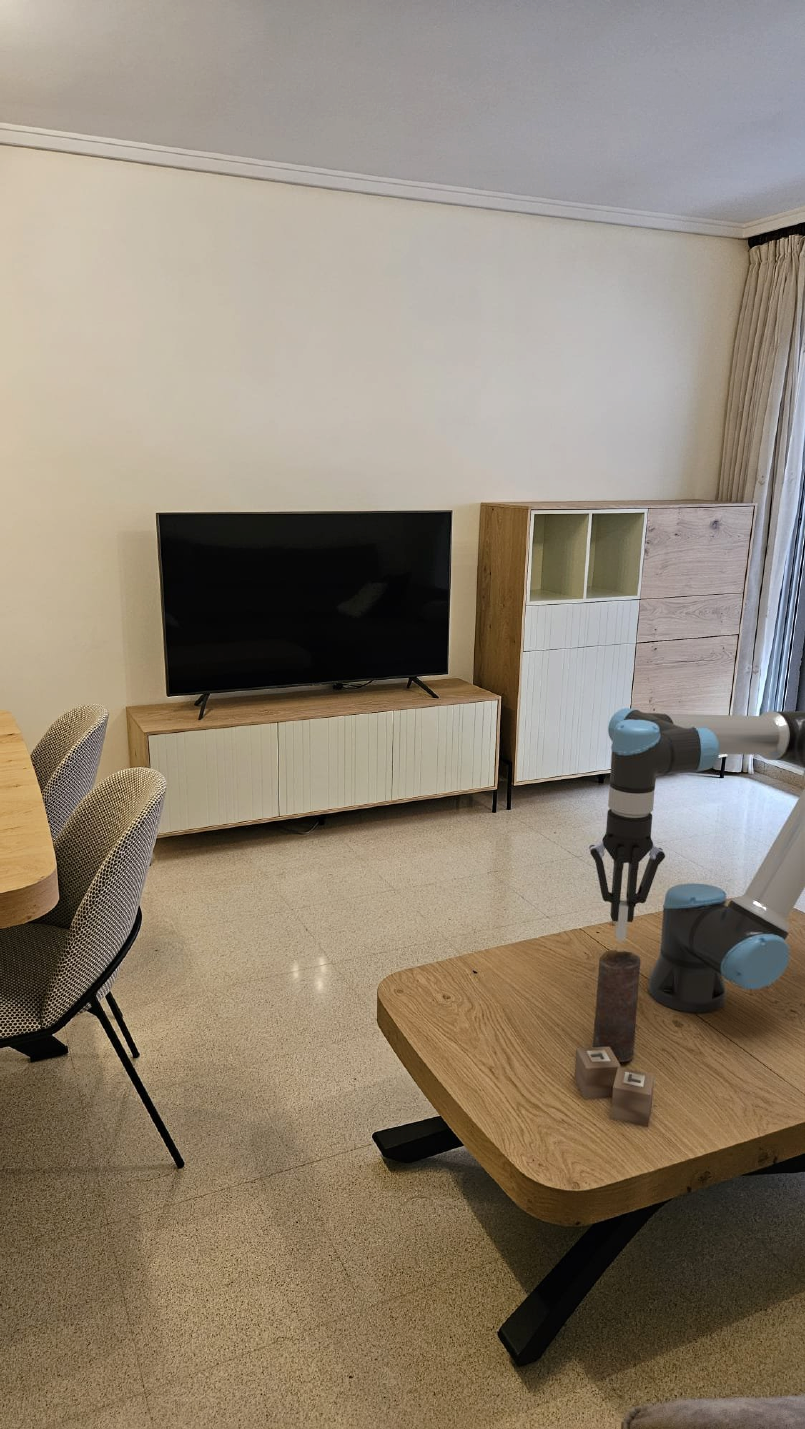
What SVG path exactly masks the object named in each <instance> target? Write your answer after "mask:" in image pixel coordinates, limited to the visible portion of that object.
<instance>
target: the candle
mask: <svg viewBox="0 0 805 1429" xmlns="http://www.w3.org/2000/svg"><path fill="white" fill-rule="evenodd" d="M598 961H599V963H598V973H597V974H598V975H597V986H596V987H597V988H596V1002H595V1012H594V1023H593V1024H594V1025H593V1037H592V1048H593V1047H610V1048H611V1050H612V1052H613V1053H614V1055H615V1057H616V1059H617V1060H618V1062H619V1063H620V1062H621V1063H624V1062H628V1061H631V1060H632V1059H633V1057H634V1055H635V1054H634V1052H635V1050H634V1049H635V1042H636V1040H635V1038H636V1028H637V1027H636V1026H637V1009H638V996H639V986H640V985H639V984H640V981H639V980H640V972H641V958H640V956H639V955H638V954H636V953H634V952H630V951H627V950H626V951H618V950H616V949H614V950H612V949H610V950H608V951H604V952H603V953H602V954H601V956H600V957H599V960H598Z"/></svg>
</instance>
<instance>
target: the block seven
mask: <svg viewBox="0 0 805 1429" xmlns="http://www.w3.org/2000/svg"><path fill="white" fill-rule="evenodd" d="M654 1084H655V1074H654V1073H650V1072H645V1071H640V1070H635V1069H634V1070H633V1069H631V1068H624V1067H622V1066H621V1067H618V1069H617V1073H616V1077H615V1082H614V1086H613V1096H612V1098H611V1099H612V1101H611V1112H610V1119H611V1120H615V1121H619V1122H622V1123H623V1122H624V1123H627V1124H633V1125H636V1126H641V1127H646V1128H649V1126H650V1125H649V1123H650V1119H651V1114H652V1113H651V1112H652V1106H653V1099H654V1098H653V1096H654Z"/></svg>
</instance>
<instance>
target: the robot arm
mask: <svg viewBox="0 0 805 1429" xmlns="http://www.w3.org/2000/svg"><path fill="white" fill-rule="evenodd" d="M607 728H608V729H607V732H608V733H607V734H608V737H609V740H610V741H611V742H612V743H611V746H610V747H611V755H610V756H611V757H610V758H611V759H610V773H609V775H610V777H609V792H608V801H607V802H608V803H607V807H608V808H609V809H608V810H607V815H606V828H605V830H606V831H605V833H604V836H603V837H602V841H601V842H599V843H597V844H596V845H594V844H590V846H589V848H588V849H589V852H590V855H591V857H592V858H593V860H594V863H595V868H596V873H597V878H598V882H599V883H598V884H599V889H600V893H601V897H602V900H603V901H604V902H608V903H610V912H609V913H610V914H609V915H610V916H609V917H610V919H611V922H615V927H614V928H615V929H614V935H615V939H616V941H617V942H626V941H627V930H628V929H627V928H628V923H632V922H633V921H634V915H635V908H636V906H637V904H645V902H647V899H648V896H649V893H650V890H651V888H652V885H653V883H654V882H653V881H654V880H655V876H656V873H657V870H658V868H659V866H660V864H661V863H662V862H663V860H664V859H665V858H666V855H665V851H664V850H663V848H662V847H657V846H655V845H654V842H653V840H652V828H653V827H652V824H653V814H652V812H653V811H654V801H655V790H656V780H657V776H666V775H677V774H688V773H698V772H700V771H701V772H702V771H706V770H710V769H712V768H713V767H714V766H716V764H717V762H718V760H719V759H720V758H719V757H720V755H743V756H745V755H749V756H750V755H752V756H753V755H757V756H758V755H759V756H760V757H761V758H763V759H764V760H768V761H780V762H786V763H788V764H791V765H794V766H798V767H800V768H802V769H805V710H804V711H803V710H802V711H797V710H794V711H792V710H790V711H785V710H784V711H782V710H780V711H777V710H775V711H774V710H770V711H764V712H763V713H762V714H760V715H730V714H729V715H727V714H695V713H694V714H693V713H692V714H691V713H689V714H688V713H659V712H657V713H656V712H643V711H640V710H639V709H636V708H635V709H633V708H628V707H626V708H625V707H624V708H621V709H619V710H617V711H616V712H614V713H613V715H612V716H611V719H610V720H609V723H608V727H607ZM802 776H803V779H804V780H805V770H804V771H803V774H802ZM770 846H771V847H770V848H769V850H768V852H767V853H766V856H765V857H764V859H763V860H762V862H761V864H760V866H759V868H758V869H757V871H756V873H755V874H754V876H753V878H752V879H751V882H750V883H749V885H748V887H747V888H746V890H745V892H744V894H742V895H741V896H736V897H732V898H731V900H730V901H729V903H728V904H727V900H728V898H727V893H726V891H725V890H723V889H722V888H720V887H717V886H714V885H711V884H707V883H706V884H705V883H694V882H693V883H682V884H678V885H677V884H676V885H674V886H671V887H670V888H669V889H667V891H666V893H665V896H664V903H663V905H662V908H663V909H662V922H661V923H662V924H661V936H660V949H659V950H660V951H659V952H660V953H659V955H658V958H657V960H656V962H655V964H654V966H653V969H652V971H651V972H650V975H649V979H648V987H647V988H648V989H647V990H648V993H649V994H650V995H651V997H652V998H653V999H654V1000H656V1001H657V1002H658V1003H659V1004H661V1005H663V1006H665V1007H668V1008H670V1009H673V1010H677V1011H681V1012H686V1013H697V1014H698V1013H710V1012H714V1011H716V1010H718V1009H720V1008H721V1007H723V1005H724V1004H725V1002H726V996H727V995H726V994H727V993H726V991H727V989H726V984H725V981H724V979H725V980H726V981H729V982H731V983H733V984H735V985H737V986H738V987H740V988H742V989H745V990H750V991H753V990H755V991H756V990H760V989H762V988H764V987H768V986H770V985H772V984H773V983H774V982H776V981H777V980H778V979H779V978H780V977H781V976H782V974H784V972H785V970H786V969H787V967H788V964H789V963H790V962H789V961H790V955H789V954H790V947H789V945H788V944H787V941H786V939H787V937H788V936H789V933H790V932H791V931H790V928H789V924H788V918H789V916H790V914H791V913H792V911H793V909H794V907H795V906H796V904H797V902H798V900H799V898H800V897H801V895H802V893H803V892H804V890H805V788H804V789H803V790H802V792H801V794H800V795H799V797H798V799H797V801H796V802H795V804H794V806H793V808H792V810H791V811H790V813H789V815H788V817H787V818H786V820H785V822H784V824H783V825H782V827H781V829H780V831H779V833H778V834H777V835H776V838H775V840H774V841H773V843H772V844H771V845H770ZM605 851H607V852H608V855H609V856H610V857H611V859H612V860H613V869H612V870H613V871H612V882H611V883H612V884H611V892H610V890H609V886H608V881H607V876H606V871H605V870H606V868H605V864H604V861H603V857H604V856H605ZM647 854H649V859H648V861H647V863H646V866H645V869H644V872H643V875H642V878H641V882H640V884H639V887H638V888H637V886H638V884H637V883H638V874H639V873H638V872H639V865H640V862H641V861H643V859H644V858H645V857H646V855H647ZM627 863H628V870H627V880H626V881H627V883H626V894H625V895H626V896H625V897H626V900H624V899H621V896H622V895H621V893H622V885H623V884H622V881H623V871H624V864H627ZM637 889H638V890H637ZM726 904H727V905H726Z"/></svg>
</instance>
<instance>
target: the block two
mask: <svg viewBox="0 0 805 1429" xmlns="http://www.w3.org/2000/svg"><path fill="white" fill-rule="evenodd" d="M574 1061H575V1062H574V1063H575V1064H574V1078H573V1079H574V1081H575V1083H576V1086H577V1087H578V1089H579V1092H580V1093H581V1095H582V1097H583V1099H584V1101H586V1100H600V1099H601V1100H602V1099H612V1096H613V1086H614V1082H615V1077H616V1073H617V1069H618V1067H621V1068H622V1066H621V1064H620V1062H618V1060H617V1059H616V1057H615V1055H614V1053H613V1052H612V1050H611V1048H610V1047H593V1046H592V1047H579V1048H578V1047H577V1048H576V1049H575V1060H574Z"/></svg>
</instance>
